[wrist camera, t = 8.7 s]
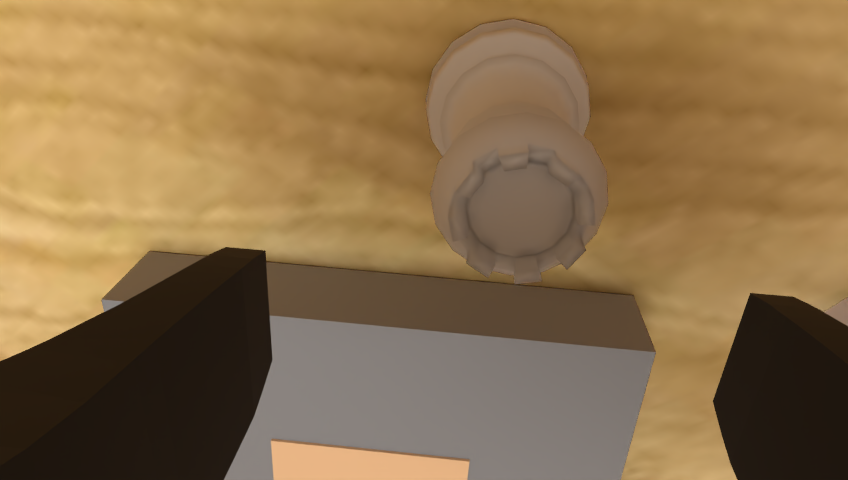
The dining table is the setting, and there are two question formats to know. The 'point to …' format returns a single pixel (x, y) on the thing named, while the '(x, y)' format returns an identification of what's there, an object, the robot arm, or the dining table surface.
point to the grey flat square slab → (435, 377)
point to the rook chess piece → (514, 151)
